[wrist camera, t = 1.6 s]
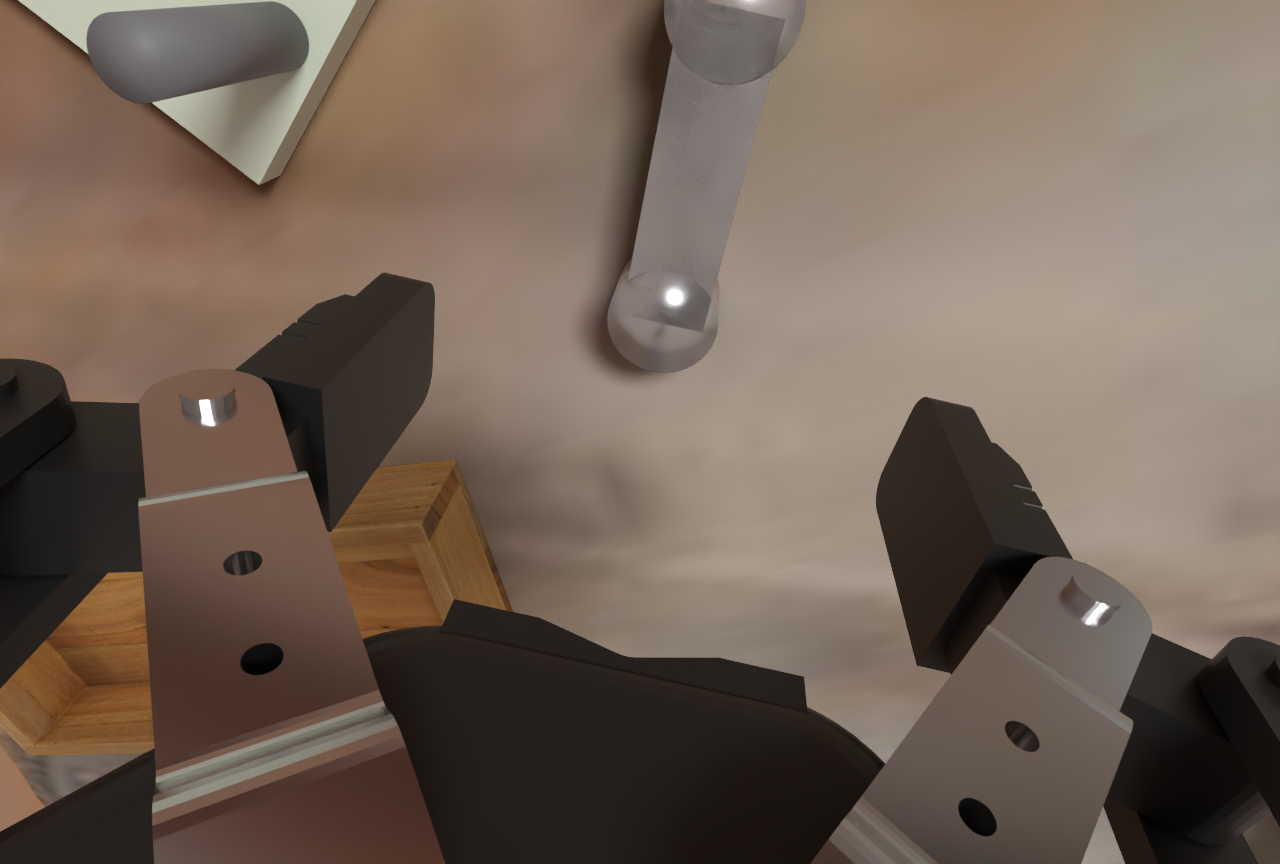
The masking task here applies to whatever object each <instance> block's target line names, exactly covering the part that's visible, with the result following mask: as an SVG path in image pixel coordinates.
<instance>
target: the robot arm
mask: <svg viewBox="0 0 1280 864" xmlns="http://www.w3.org/2000/svg"><path fill="white" fill-rule="evenodd" d="M434 310H435V294H434V289H433V286H432V284H431V283H428V282H423V281H419V280H415V279H410V278H406V277H402V276H397V275H393V274H388V273H382V274H380V275H379V276H378V277H377V278H376V279H375V280H373V281H372V282H371V283H370V284H369V285H368V286H366V287H365V288H364V289H363V290H362V291H361V292H360V293H358V294H357V295H356V296H355V297H354V296H350V295H346V294H345V295H342V296H339V297H336V298H333V299H331V300H328V301H325V302H322V303H319V304H316V305H315V306H314V307H312V308H311V309H310V310H309V311H307V312H306V313H305V314H304V315H303V316H301V317H300V318H299V319H298V321H297V323H295V322H294V323H293V324H291V325H290V326H289V327H288V328H286V329H285V330H284V331H283V332H282V336H281V335H278V336H276V337H275V338H274V339H273V340H272V341H270V342H269V343H268V344H267V345H265V346H264V347H263V348H262V349H260V350H259V351H258V352H257V353H255V354H254V355H253V356H252V357H250V358H249V359H248V360H247V361H245V362H244V363H243V364H242V365H241V366H239V367H238V368H237V369H236V370H226V369H206V370H197V371H190V372H185V373H181V374H178V375H174V376H171V377H169V378H166V379H164V380H161V381H160V382H158V383H156V384H154V385H153V386H152V387H150V388H149V389H148V390H147V391H146V392H145V393H144V394H143V395H142V397H141V399H140V402H139V403H107V402H73V401H70V397H69V394H68V391H67V387H66V384H65V380H64V378H63V376H62V374H61V373H60V372H59V371H58V370H56V369H55V368H53V367H51V366H49V365H46V364H44V363H40V362H36V361H31V360H24V359H0V688H1V687H2V686H3V685H4V684H5V683H6V682H7V681H8V680H9V679H10V678H11V677H12V676H13V675H14V673H15V672H16V671H17V670H18V669H19V668H20V667H21V666H22V665H23V664H24V663H25V662H26V661H27V660H28V658H29V657H30V656H31V655H32V654H33V653H34V652H35V651H36V650H37V649H38V648H39V647H40V646H41V644H42V643H43V642H44V641H45V640H46V639H47V638H48V637H49V636H50V635H51V634H52V633H53V632H54V631H55V629H56V628H57V627H58V626H59V625H60V624H61V623H62V622H63V621H64V620H65V619H66V618H67V617H68V616H69V614H70V613H71V612H72V611H73V610H74V609H75V608H76V607H77V606H78V605H79V604H80V603H81V602H82V600H83V599H84V598H85V597H86V596H87V595H88V594H89V593H90V592H91V591H92V590H93V589H94V588H95V587H96V585H97V584H98V583H99V582H100V581H101V580H102V579H103V578H104V577H105V576H106V575H107V573H121V572H143V585H144V600H145V615H146V630H147V645H148V660H149V675H150V690H151V705H152V720H153V735H154V749H152V750H150V751H148V752H146V753H144V754H143V755H141V756H139V757H137V758H135V759H133V760H131V761H130V762H128V763H126V764H124V765H122V766H120V767H119V768H117V769H115V770H113V771H111V772H109V773H108V774H106V775H104V776H102V777H100V778H98V779H97V780H95V781H93V782H91V783H89V784H87V785H85V786H84V787H82V788H80V789H78V790H76V791H74V792H73V793H71V794H69V795H67V796H65V797H63V798H62V799H60V800H58V801H56V802H54V803H52V804H51V805H49V806H47V807H45V808H43V809H41V810H39V811H38V812H36V813H34V814H32V815H30V816H29V817H27V818H25V819H23V820H21V821H19V822H18V823H16V824H14V825H12V826H10V827H8V828H7V829H5V830H3V831H1V832H0V864H1081V863H1082V860H1083V858H1084V855H1085V852H1086V850H1087V847H1088V844H1089V842H1090V839H1091V837H1092V834H1093V831H1094V829H1095V826H1096V823H1097V821H1098V818H1099V816H1100V813H1101V810H1102V808H1103V806H1104V809H1105V811H1106V814H1107V817H1108V819H1109V822H1110V825H1111V827H1112V830H1113V832H1114V835H1115V838H1116V840H1117V843H1118V846H1119V848H1120V851H1121V853H1122V856H1123V859H1124V861H1125V864H1258V862H1257V861H1256V859H1255V857H1254V855H1253V853H1252V851H1251V849H1250V847H1249V846H1248V844H1247V842H1246V840H1245V838H1244V836H1243V834H1242V833H1243V832H1244V831H1245V830H1247V829H1248V828H1249V827H1251V826H1252V825H1253V824H1255V823H1256V822H1257V821H1258V820H1260V819H1261V818H1262V817H1264V816H1265V815H1266V814H1268V813H1269V812H1270V811H1271V812H1272V814H1273V816H1274V817H1275V819H1276V821H1277V823H1278V824H1279V826H1280V646H1279V645H1277V644H1274V643H1272V642H1268V641H1265V640H1262V639H1258V638H1253V637H1237V638H1234V639H1232V640H1231V641H1230V642H1229V643H1228V644H1227V645H1226V646H1225V647H1224V648H1223V649H1222V650H1221V651H1220V652H1219V653H1218V654H1217V655H1216V656H1215V657H1214V658H1213V659H1209V658H1207V657H1205V656H1202V655H1200V654H1198V653H1196V652H1193V651H1191V650H1189V649H1186V648H1184V647H1182V646H1180V645H1177V644H1175V643H1173V642H1170V641H1168V640H1166V639H1164V638H1161V637H1159V636H1157V635H1155V634H1152V622H1151V619H1150V617H1149V615H1148V613H1147V611H1146V610H1145V608H1144V607H1143V605H1142V604H1141V603H1140V601H1139V600H1138V599H1137V598H1136V597H1135V596H1134V595H1133V594H1132V593H1131V592H1130V591H1129V590H1127V589H1126V588H1125V587H1124V586H1123V585H1121V584H1120V583H1119V582H1117V581H1116V580H1115V579H1113V578H1112V577H1110V576H1108V575H1107V574H1105V573H1104V572H1102V571H1100V570H1098V569H1096V568H1094V567H1092V566H1090V565H1087V564H1085V563H1082V562H1079V561H1076V560H1073V558H1072V556H1071V555H1070V553H1069V551H1068V549H1067V548H1066V546H1065V544H1064V542H1063V541H1062V539H1061V537H1060V535H1059V533H1058V532H1057V530H1056V528H1055V526H1054V525H1053V523H1052V521H1051V519H1050V518H1049V516H1048V514H1047V512H1046V511H1045V510H1043V509H1042V506H1043V505H1042V503H1041V502H1040V500H1039V498H1038V496H1037V495H1036V493H1035V492H1034V491H1031V490H1032V486H1031V484H1030V482H1029V481H1028V479H1027V477H1026V475H1025V473H1024V472H1023V470H1022V468H1021V466H1020V465H1019V464H1018V463H1017V462H1016V461H1015V460H1014V459H1012V458H1011V457H1010V456H1009V455H1008V454H1007V453H1006V452H1005V451H1004V450H1003V449H1002V448H1001V447H1000V446H999V445H997V444H996V443H991V441H990V439H989V437H988V435H987V433H986V431H985V430H984V428H983V426H982V424H981V422H980V420H979V418H978V416H977V415H976V413H975V411H974V410H973V409H972V408H971V407H967V406H963V405H958V404H954V403H950V402H945V401H941V400H937V399H932V398H928V397H923V398H922V399H920V400H919V401H918V402H917V403H916V405H915V406H914V408H913V410H912V412H911V414H910V416H909V418H908V420H907V422H906V424H905V426H904V428H903V430H902V432H901V434H900V436H899V438H898V441H897V443H896V445H895V447H894V449H893V451H892V453H891V455H890V457H889V459H888V461H887V463H886V465H885V467H884V469H883V472H882V474H881V477H880V480H879V483H878V488H877V494H876V508H877V513H878V516H879V520H880V524H881V528H882V532H883V536H884V540H885V544H886V548H887V551H888V555H889V559H890V563H891V567H892V571H893V575H894V579H895V582H896V586H897V590H898V594H899V598H900V602H901V606H902V610H903V614H904V617H905V621H906V625H907V629H908V633H909V637H910V641H911V645H912V648H913V652H914V656H915V660H916V664H917V666H922V667H926V668H931V669H935V670H940V671H944V672H949V673H951V676H950V677H949V679H948V680H947V681H946V683H945V684H944V686H943V687H942V688H941V690H940V691H939V692H938V694H937V695H936V696H935V698H934V699H933V700H932V702H931V703H930V704H929V706H928V707H927V708H926V710H925V711H924V713H923V714H922V715H921V717H920V718H919V719H918V721H917V722H916V723H915V725H914V726H913V727H912V729H911V730H910V731H909V733H908V734H907V736H906V737H905V738H904V740H903V741H902V742H901V744H900V745H899V746H898V748H897V749H896V750H895V752H894V753H893V754H892V756H891V757H890V758H889V760H888V761H887V763H886V764H885V763H884V762H883V761H882V760H881V759H880V758H879V757H878V756H877V755H876V754H875V753H874V752H873V751H872V750H871V749H869V748H868V747H867V746H866V745H865V744H864V743H862V742H861V741H860V740H859V739H858V738H856V737H855V736H854V735H853V734H851V733H850V732H848V731H847V730H846V729H844V728H843V727H841V726H840V725H838V724H837V723H835V722H834V721H832V720H830V719H829V718H827V717H825V716H823V715H822V714H820V713H818V712H816V711H814V710H812V709H810V708H808V707H807V704H806V693H805V683H804V677H802V676H798V675H793V674H789V673H784V672H780V671H775V670H771V669H766V668H762V667H757V666H753V665H748V664H744V663H739V662H735V661H730V660H726V659H721V658H634V657H627V656H623V655H620V654H617V653H615V652H613V651H611V650H609V649H606V648H604V647H602V646H600V645H598V644H595V643H593V642H591V641H589V640H587V639H585V638H582V637H580V636H578V635H576V634H574V633H572V632H569V631H567V630H565V629H563V628H561V627H558V626H556V625H554V624H552V623H550V622H548V621H545V620H543V619H541V618H537V617H533V616H528V615H524V614H519V613H515V612H510V611H506V610H501V609H497V608H492V607H488V606H483V605H479V604H474V603H470V602H465V601H461V600H456V599H454V600H453V602H452V605H451V607H450V609H449V611H448V614H447V616H446V618H445V620H444V623H443V625H438V626H420V627H410V628H403V629H398V630H393V631H388V632H383V633H380V634H377V635H373V636H370V637H367V638H363V639H362V636H361V633H360V630H359V627H358V624H357V621H356V618H355V615H354V612H353V609H352V606H351V603H350V600H349V597H348V594H347V590H346V587H345V584H344V581H343V578H342V575H341V572H340V569H339V566H338V563H337V560H336V557H335V554H334V551H333V548H332V545H331V542H330V539H329V536H328V533H327V532H332V530H333V529H334V527H335V526H336V525H337V523H338V522H339V520H340V519H341V518H342V516H343V515H344V513H345V512H346V511H347V509H348V508H349V507H350V505H351V504H352V502H353V501H354V500H355V498H356V497H357V495H358V494H359V493H360V491H361V490H362V488H363V487H364V486H365V484H366V483H367V481H368V480H369V479H370V477H371V476H372V474H373V473H374V472H375V470H376V469H377V467H378V466H379V465H380V463H381V462H382V460H383V459H384V458H385V456H386V455H387V453H388V452H389V451H390V449H391V448H392V446H393V445H394V444H395V442H396V441H397V439H398V438H399V437H400V435H401V434H402V432H403V431H404V430H405V428H406V427H407V425H408V424H409V423H410V421H411V420H412V418H413V417H414V416H415V414H416V413H417V411H418V410H419V409H420V407H421V406H422V404H423V402H424V400H425V398H426V396H427V393H428V390H429V386H430V382H431V377H432V366H433V338H434Z"/></svg>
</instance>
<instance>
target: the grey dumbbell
mask: <svg viewBox="0 0 1280 864" xmlns="http://www.w3.org/2000/svg"><path fill="white" fill-rule="evenodd" d="M805 6H806V0H664V19H665V26H666V30H667V34H668V37H669V40H670V43H671V45H672V47H673V48H672V53H671V58H670V64H669V69H668V74H667V79H666V85H665V90H664V95H663V100H662V105H661V111H660V116H659V121H658V126H657V132H656V137H655V142H654V147H653V152H652V158H651V163H650V168H649V173H648V178H647V184H646V189H645V194H644V199H643V205H642V210H641V215H640V220H639V225H638V231H637V236H636V241H635V246H634V252H633V257H632V258H631V259H630V260H629V261H628V262H627V264H626V265H625V267H624V269H623V271H622V273H621V275H620V278H619V281H618V284H617V286H616V289H615V292H614V294H613V297H612V300H611V302H610V305H609V309H608V315H607V325H608V331H609V334H610V337H611V340H612V342H613V344H614V345H615V347H616V348H617V350H618V351H619V352H620V353H621V355H622V356H624V357H625V358H626V359H627V360H628V361H630V362H631V363H632V364H634V365H636V366H638V367H640V368H642V369H645V370H648V371H653V372H660V373H668V372H676V371H680V370H683V369H686V368H688V367H690V366H692V365H694V364H695V363H697V362H698V361H699V360H701V359H702V358H703V357H704V356H705V355H706V354H707V352H708V351H709V350H710V348H711V346H712V345H713V343H714V340H715V337H716V334H717V328H718V307H719V284H718V280H717V276H718V272H719V269H720V265H721V261H722V257H723V254H724V250H725V246H726V242H727V238H728V235H729V231H730V227H731V223H732V220H733V216H734V212H735V208H736V204H737V201H738V197H739V193H740V189H741V185H742V182H743V178H744V174H745V170H746V167H747V163H748V159H749V155H750V151H751V148H752V144H753V140H754V136H755V133H756V129H757V125H758V121H759V117H760V114H761V110H762V106H763V102H764V98H765V95H766V91H767V87H768V83H769V80H770V76H771V72H772V70H773V69H774V68H775V67H776V66H777V65H778V64H779V63H780V62H781V61H782V60H783V59H784V58H785V57H786V55H787V54H788V53H789V51H790V50H791V48H792V47H793V45H794V43H795V41H796V39H797V37H798V35H799V32H800V29H801V26H802V23H803V19H804V14H805Z"/></svg>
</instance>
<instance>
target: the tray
mask: <svg viewBox="0 0 1280 864" xmlns="http://www.w3.org/2000/svg"><path fill="white" fill-rule="evenodd" d="M327 533H328V536H329V539H330V542H331V545H332V548H333V551H334V554H335V557H336V560H337V563H338V566H339V569H340V572H341V575H342V578H343V581H344V584H345V587H346V590H347V594H348V597H349V600H350V603H351V606H352V609H353V612H354V615H355V618H356V621H357V624H358V627H359V630H360V633H361V636H362V639H363V638H367V637H370V636H373V635H377V634H380V633H383V632H388V631H393V630H398V629H403V628H410V627H420V626H438V625H443V623H444V620H445V618H446V616H447V614H448V611H449V609H450V607H451V605H452V602H453V600H454V599H456V600H461V601H465V602H470V603H474V604H479V605H483V606H488V607H492V608H497V609H501V610H506V611H510V612H513V610H512V608H511V605H510V602H509V600H508V597H507V594H506V592H505V589H504V586H503V583H502V581H501V578H500V575H499V573H498V570H497V567H496V565H495V562H494V559H493V557H492V554H491V551H490V549H489V546H488V544H487V541H486V538H485V536H484V533H483V530H482V528H481V525H480V522H479V520H478V517H477V514H476V512H475V509H474V506H473V504H472V501H471V498H470V495H469V493H468V490H467V488H466V485H465V482H464V480H463V477H462V475H461V472H460V470H459V467H458V465H457V462H456V461H455V460H450V461H439V462H428V463H417V464H406V465H395V466H385V467H377V469H376V470H375V472H374V473H373V474H372V476H371V477H370V479H369V480H368V481H367V483H366V484H365V486H364V487H363V488H362V490H361V491H360V493H359V494H358V495H357V497H356V498H355V500H354V501H353V502H352V504H351V505H350V507H349V508H348V509H347V511H346V512H345V513H344V515H343V516H342V518H341V519H340V520H339V522H338V523H337V525H336V526H335V527H334V529H333V530H332V532H327ZM0 726H1V727H2V728H3V729H4V730H5V731H6V732H7V733H8V734H9V735H10V736H11V737H12V738H13V739H14V740H15V741H16V742H17V743H18V744H19V745H20V746H21V747H22V748H23V749H24V750H25V751H26V752H27V753H28V754H29V755H79V754H123V753H146V752H148V751H150V750H152V749H154V735H153V720H152V705H151V690H150V675H149V660H148V645H147V630H146V615H145V600H144V585H143V572H121V573H107V575H106V576H105V577H104V578H103V579H102V580H101V581H100V582H99V583H98V584H97V585H96V587H95V588H94V589H93V590H92V591H91V592H90V593H89V594H88V595H87V596H86V597H85V598H84V599H83V600H82V602H81V603H80V604H79V605H78V606H77V607H76V608H75V609H74V610H73V611H72V612H71V613H70V614H69V616H68V617H67V618H66V619H65V620H64V621H63V622H62V623H61V624H60V625H59V626H58V627H57V628H56V629H55V631H54V632H53V633H52V634H51V635H50V636H49V637H48V638H47V639H46V640H45V641H44V642H43V643H42V644H41V646H40V647H39V648H38V649H37V650H36V651H35V652H34V653H33V654H32V655H31V656H30V657H29V658H28V660H27V661H26V662H25V663H24V664H23V665H22V666H21V667H20V668H19V669H18V670H17V671H16V672H15V673H14V675H13V676H12V677H11V678H10V679H9V680H8V681H7V682H6V683H5V684H4V685H3V686H2V687H1V688H0Z"/></svg>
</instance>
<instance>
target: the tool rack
mask: <svg viewBox="0 0 1280 864" xmlns="http://www.w3.org/2000/svg"><path fill="white" fill-rule="evenodd" d="M18 1H20V2H21V3H22V4H24V5H25V6H26V7H28V8H29V9H30V10H31V11H33V12H34V13H35V14H37V15H38V16H39V17H41V18H42V19H43V20H44V21H46V22H47V23H48V24H50V25H51V26H52V27H54V28H55V29H56V30H58V31H59V32H60V33H61V34H63V35H64V36H65V37H67V38H68V39H69V40H71V41H72V42H73V43H74V44H76V45H77V46H78V47H80V48H81V49H82V50H84V51H85V52H86V53H87V54H89V57H90V60H91V62H92V65H93V67H94V69H95V70H96V72H97V74H98V75H99V76H100V78H101V79H102V80H103V82H104V83H105V84H106V85H107V86H108V87H109V88H110V89H111V90H112V91H114V92H115V93H116V94H118V95H119V96H121V97H123V98H124V99H126V100H129V101H131V102H135V103H140V104H147V103H153V104H154V105H155V106H157V107H158V108H159V109H160V110H162V111H163V112H164V113H166V114H167V115H168V116H170V117H171V118H172V119H174V120H175V121H176V122H177V123H179V124H180V125H181V126H183V127H184V128H185V129H187V130H188V131H189V132H190V133H192V134H193V135H194V136H196V137H197V138H198V139H200V140H201V141H202V142H204V143H205V144H206V145H207V146H209V147H210V148H211V149H213V150H214V151H215V152H217V153H218V154H219V155H220V156H222V157H223V158H224V159H226V160H227V161H228V162H230V163H231V164H232V165H233V166H235V167H236V168H237V169H239V170H240V171H241V172H243V173H244V174H245V175H247V176H248V177H249V178H250V179H252V180H253V181H254V182H256V183H257V184H258V185H260V184H263V183H265V182H267V181H269V180H271V179H274V178H276V177H278V176H280V175H281V174H282V172H283V170H284V168H285V166H286V165H287V163H288V161H289V159H290V157H291V155H292V154H293V152H294V150H295V148H296V146H297V144H298V143H299V141H300V139H301V137H302V135H303V133H304V131H305V130H306V128H307V126H308V124H309V122H310V120H311V119H312V117H313V115H314V113H315V111H316V109H317V108H318V106H319V104H320V102H321V100H322V98H323V97H324V95H325V93H326V91H327V89H328V87H329V85H330V84H331V82H332V80H333V78H334V76H335V74H336V73H337V71H338V69H339V67H340V65H341V63H342V62H343V60H344V58H345V56H346V54H347V52H348V50H349V49H350V47H351V45H352V43H353V41H354V39H355V38H356V36H357V34H358V32H359V30H360V28H361V27H362V25H363V23H364V21H365V19H366V17H367V15H368V14H369V12H370V10H371V8H372V6H373V4H374V3H375V1H376V0H18Z"/></svg>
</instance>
